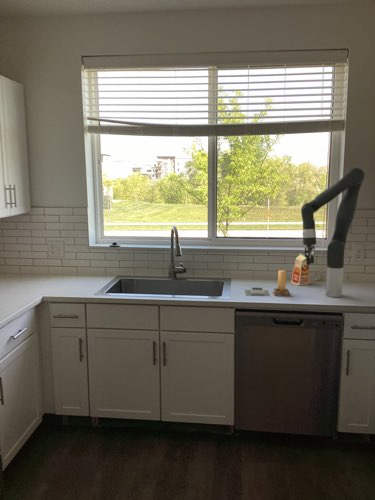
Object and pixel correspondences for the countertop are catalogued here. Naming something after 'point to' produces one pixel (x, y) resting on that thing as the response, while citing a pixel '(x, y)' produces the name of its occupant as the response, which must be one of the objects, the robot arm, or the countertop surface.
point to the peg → (281, 280)
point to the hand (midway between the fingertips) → (310, 263)
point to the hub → (257, 291)
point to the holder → (281, 293)
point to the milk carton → (301, 271)
